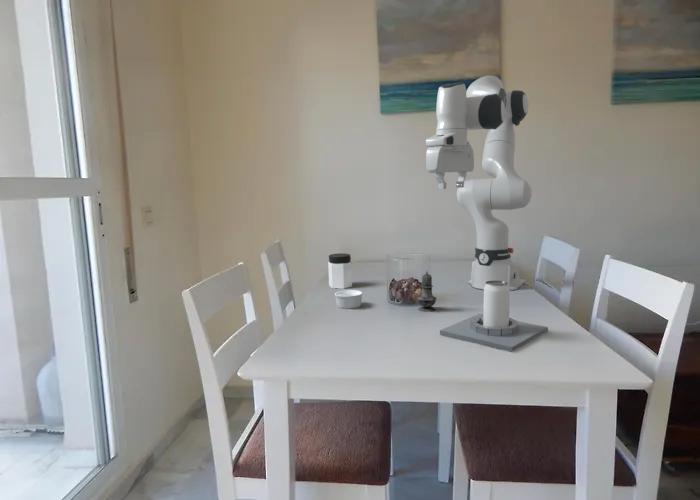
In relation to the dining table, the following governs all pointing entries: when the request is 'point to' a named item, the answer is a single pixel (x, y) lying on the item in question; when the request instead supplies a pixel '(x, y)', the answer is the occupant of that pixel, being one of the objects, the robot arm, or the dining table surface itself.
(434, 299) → the salt shaker
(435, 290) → the dining table surface
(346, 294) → the ramekin
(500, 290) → the can
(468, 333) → the board
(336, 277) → the jar
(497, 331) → the collar
